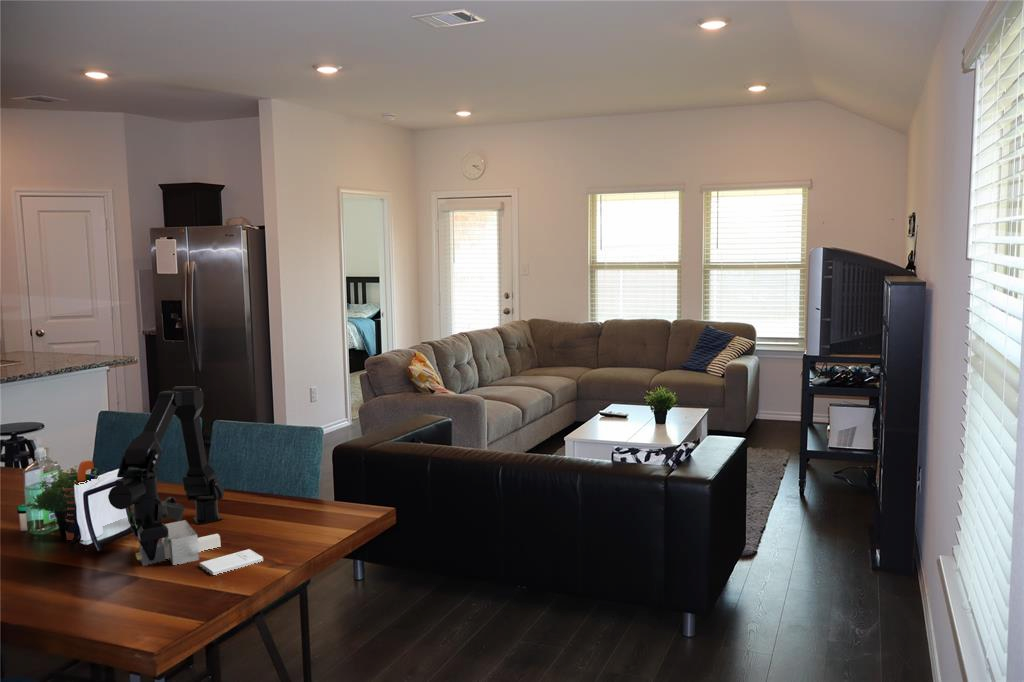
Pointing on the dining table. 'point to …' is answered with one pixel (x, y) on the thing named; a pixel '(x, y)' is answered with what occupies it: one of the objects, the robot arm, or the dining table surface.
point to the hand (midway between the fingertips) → (150, 557)
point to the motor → (79, 478)
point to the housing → (181, 542)
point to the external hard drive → (231, 562)
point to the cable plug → (164, 552)
